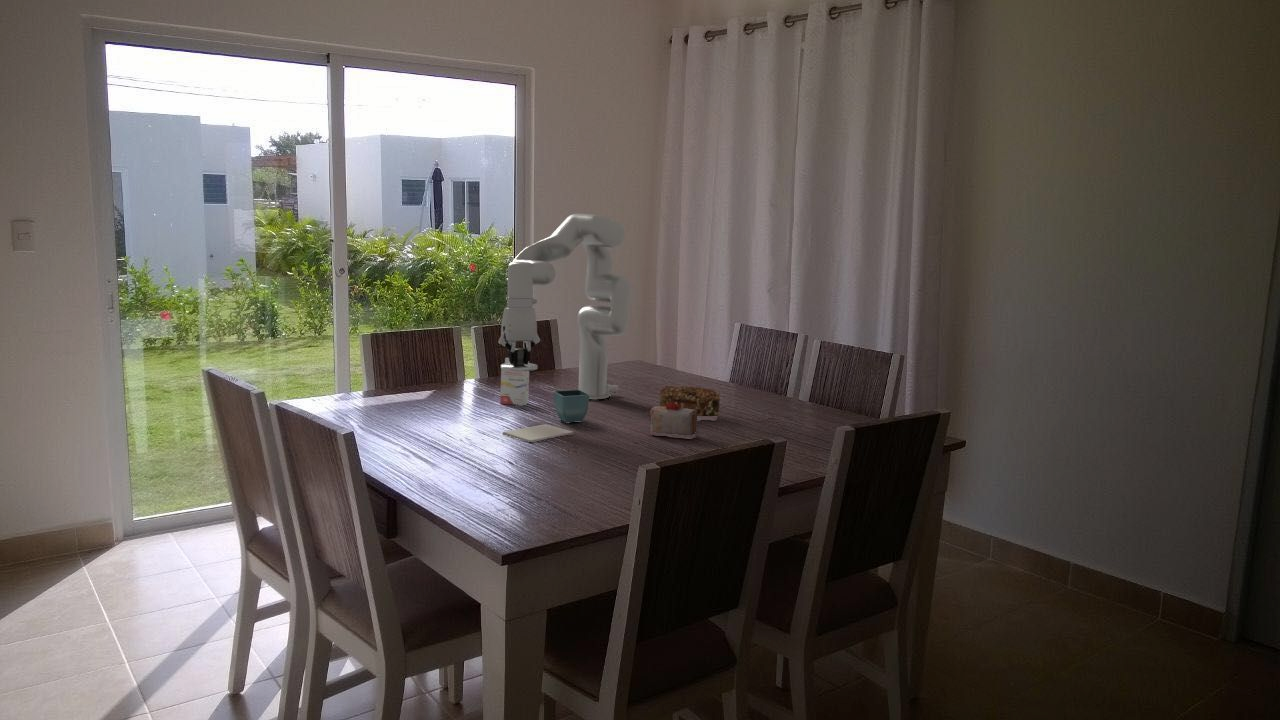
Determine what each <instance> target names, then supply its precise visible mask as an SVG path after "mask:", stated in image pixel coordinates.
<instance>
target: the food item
mask: <svg viewBox="0 0 1280 720" xmlns="http://www.w3.org/2000/svg"><path fill="white" fill-rule="evenodd" d="M649 414H650V418H651V419H650V421H651V423H650V429H649V430H650V431H651V432H656V433H666V434H678V435H693V434H695V432H696V433H697V426H698V425H697V423H698V421H697V410H694V409H686V408H681V406H680V405H679V404H677V401H676V402H675V403H669V404H667V406H666V407H663V406H662V407H661V406H660V405H659V406H658V405H657V406H653V407H652V408H651V409H650V411H649ZM651 432H650V433H651Z"/></svg>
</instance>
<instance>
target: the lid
mask: <svg viewBox="0 0 1280 720" xmlns="http://www.w3.org/2000/svg"><path fill="white" fill-rule="evenodd" d="M515 352H516V353H517V358H516V365H512V364H510V363H505V362H504V363H502V364H500V370H501V369H503V370H507V371H529V372H531V371H532V372H533V371H535V370H538V364H536V363H531V362H529V363H528V364H527V365H526V364H524V360H525V349H524V348H521V347H518V348H517V347H515Z"/></svg>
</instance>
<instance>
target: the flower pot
mask: <svg viewBox="0 0 1280 720" xmlns="http://www.w3.org/2000/svg"><path fill="white" fill-rule="evenodd" d="M552 393H553V402H554V403H553V404H554V408H555V412H556V415H557V417H558V419H559V420H560V419H561V420H562V421H561V420H560V421H561V422H563V421H564V422H563V423H565V422H575V421H582V422H583V420H584V419H585V417H586V415H587V412H588V408H589V402H590V400H589V396H590V395H589V394H587V393H585V392H583V391H581V390H578V389H566V390H553V391H552Z"/></svg>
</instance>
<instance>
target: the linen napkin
mask: <svg viewBox="0 0 1280 720" xmlns="http://www.w3.org/2000/svg"><path fill="white" fill-rule="evenodd" d="M572 432H574V431H571V430H568V429H564V428H561V427H558V426H555V425H550V424H546V423H544V424H540V425H534V426H529V427H522V428H516V429H512V430H506V431H502V435H503V436H505V435H507V437H509V436H511V437H510V438H512V437H515V438H518V439H517V440H519V439H521V440H520V441H522V440H524V441H523V442H525V441H528V442H534V443H536V442H535V441H539V440H543V439H547V438H551V437H555V436H560V435H564V434H568V433H572ZM515 438H514V439H515ZM528 442H527V443H528ZM539 442H540V441H539Z"/></svg>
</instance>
